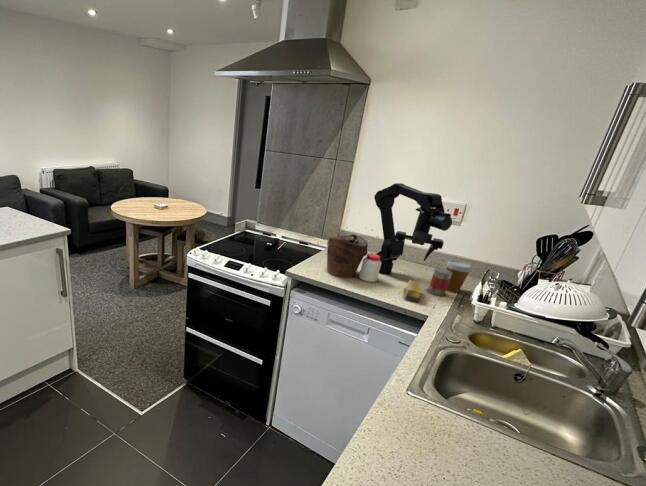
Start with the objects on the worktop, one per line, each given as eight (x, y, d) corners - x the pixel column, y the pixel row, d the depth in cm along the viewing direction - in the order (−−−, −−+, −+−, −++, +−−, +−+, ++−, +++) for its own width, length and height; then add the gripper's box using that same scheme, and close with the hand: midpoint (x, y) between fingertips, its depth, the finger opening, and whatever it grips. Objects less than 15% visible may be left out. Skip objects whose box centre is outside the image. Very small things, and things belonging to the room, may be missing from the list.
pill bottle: (377, 277, 180) (383, 255, 176) (376, 283, 173) (382, 259, 169) (359, 274, 183) (365, 251, 178) (358, 279, 176) (364, 256, 172)
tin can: (427, 293, 167) (434, 271, 163) (427, 288, 173) (434, 267, 169) (445, 297, 165) (453, 275, 161) (444, 292, 170) (452, 270, 166)
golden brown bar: (404, 299, 159) (408, 289, 157) (406, 289, 170) (409, 279, 168) (417, 302, 157) (420, 292, 155) (417, 291, 168) (420, 282, 166)
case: (357, 267, 191) (365, 232, 184) (364, 282, 173) (374, 243, 165) (319, 262, 193) (327, 227, 186) (323, 277, 175) (331, 238, 168)
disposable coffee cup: (460, 287, 177) (469, 262, 172) (465, 295, 168) (475, 269, 163) (437, 283, 179) (445, 258, 174) (441, 291, 171) (450, 265, 166)
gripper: (398, 223, 163) (388, 258, 169) (448, 232, 155) (435, 268, 162) (400, 218, 172) (390, 251, 178) (448, 226, 164) (436, 261, 171)
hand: (412, 258), depth 172 cm, fingers open, 9 cm apart
